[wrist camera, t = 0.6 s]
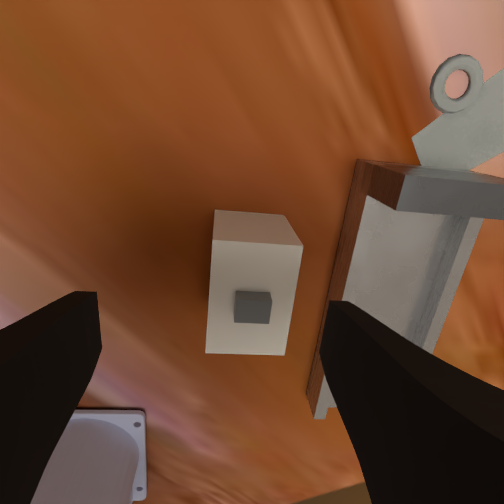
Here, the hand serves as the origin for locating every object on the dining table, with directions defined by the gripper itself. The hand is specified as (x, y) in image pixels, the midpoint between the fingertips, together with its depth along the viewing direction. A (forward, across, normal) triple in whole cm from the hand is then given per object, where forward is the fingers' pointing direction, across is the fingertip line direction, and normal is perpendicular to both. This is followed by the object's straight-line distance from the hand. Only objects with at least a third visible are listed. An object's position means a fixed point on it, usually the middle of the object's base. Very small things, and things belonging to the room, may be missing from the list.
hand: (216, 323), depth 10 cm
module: (+10, -2, +2) cm, 10 cm away
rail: (+9, -11, +4) cm, 15 cm away
